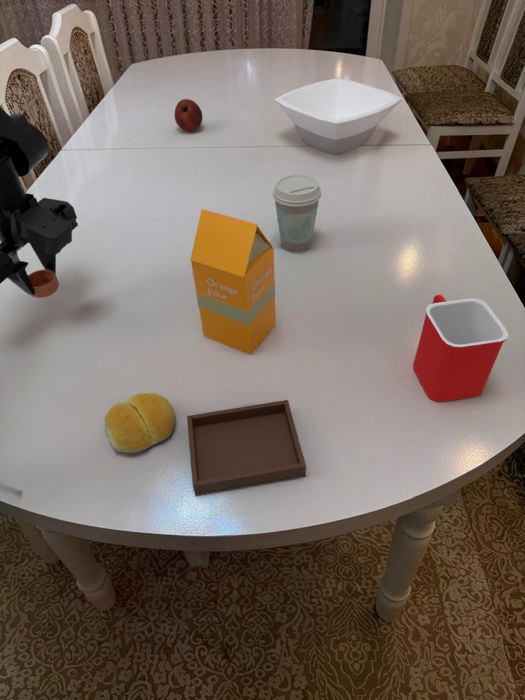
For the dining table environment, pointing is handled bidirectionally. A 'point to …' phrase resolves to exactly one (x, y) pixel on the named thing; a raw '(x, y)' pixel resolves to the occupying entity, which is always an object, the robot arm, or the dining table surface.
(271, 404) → the serving tray
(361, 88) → the bowl
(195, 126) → the apple
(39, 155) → the robot arm
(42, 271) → the side dish
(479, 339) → the mug
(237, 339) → the orange juice
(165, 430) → the bread roll
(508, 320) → the dining table surface
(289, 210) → the coffee cup
